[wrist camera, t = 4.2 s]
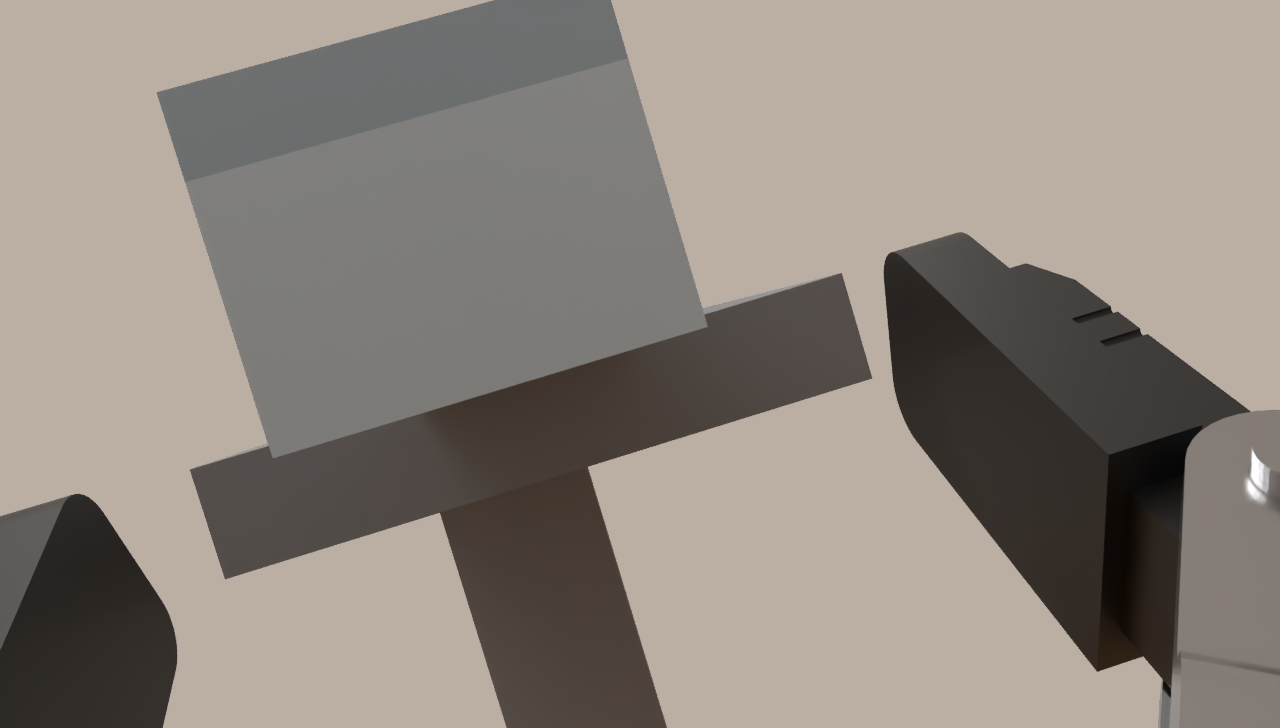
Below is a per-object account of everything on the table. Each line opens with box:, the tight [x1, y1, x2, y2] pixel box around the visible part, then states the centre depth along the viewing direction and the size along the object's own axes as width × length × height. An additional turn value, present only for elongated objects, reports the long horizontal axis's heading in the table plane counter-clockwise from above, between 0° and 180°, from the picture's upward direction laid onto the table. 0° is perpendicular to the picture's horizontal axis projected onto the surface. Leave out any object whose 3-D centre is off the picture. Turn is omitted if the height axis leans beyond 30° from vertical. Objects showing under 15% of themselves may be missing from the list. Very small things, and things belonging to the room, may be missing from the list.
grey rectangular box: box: [157, 0, 708, 458], centre depth 21 cm, size 24×4×3 cm, turn 5°
